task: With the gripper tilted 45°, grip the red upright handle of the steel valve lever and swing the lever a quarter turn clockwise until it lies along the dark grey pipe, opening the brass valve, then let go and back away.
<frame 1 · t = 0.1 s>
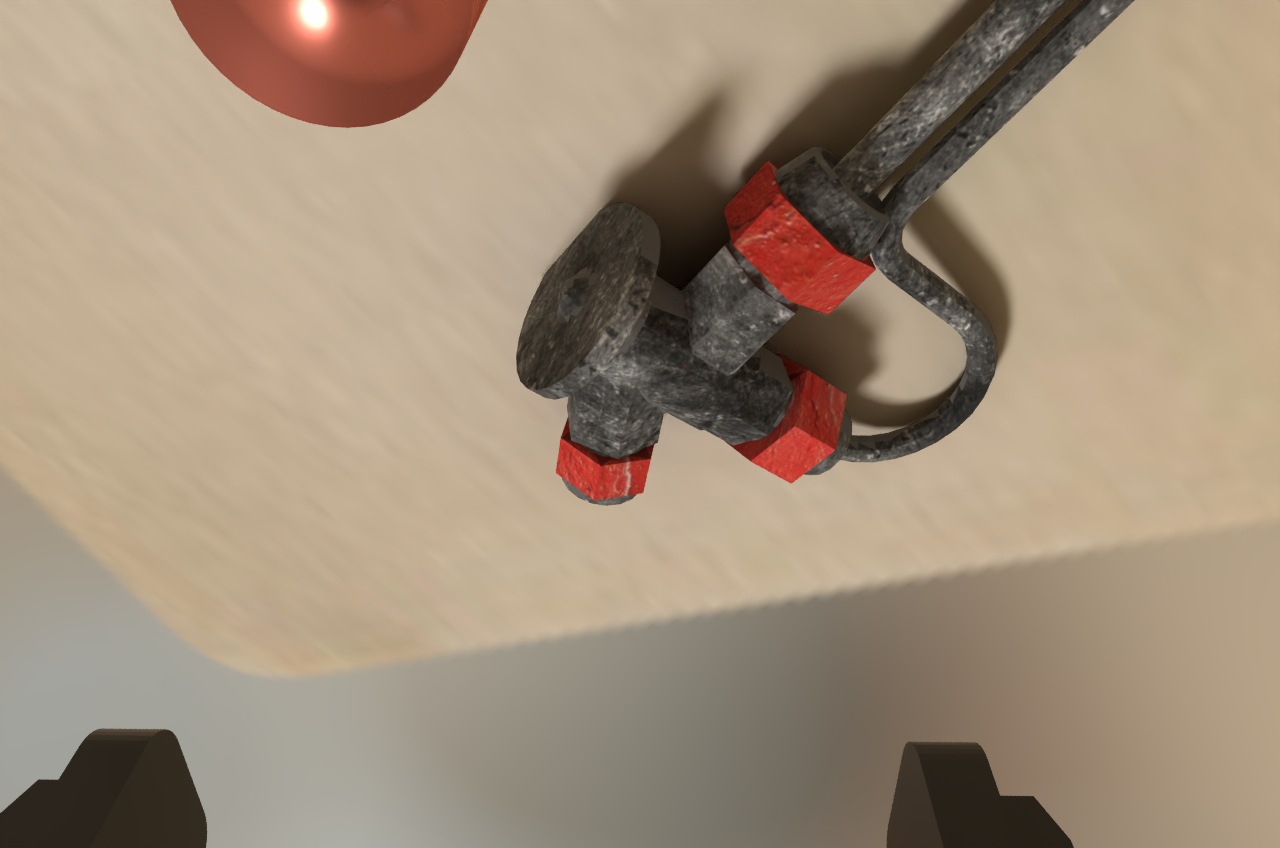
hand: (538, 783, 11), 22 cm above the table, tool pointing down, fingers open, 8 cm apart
valve: (872, 229, 32), on the table
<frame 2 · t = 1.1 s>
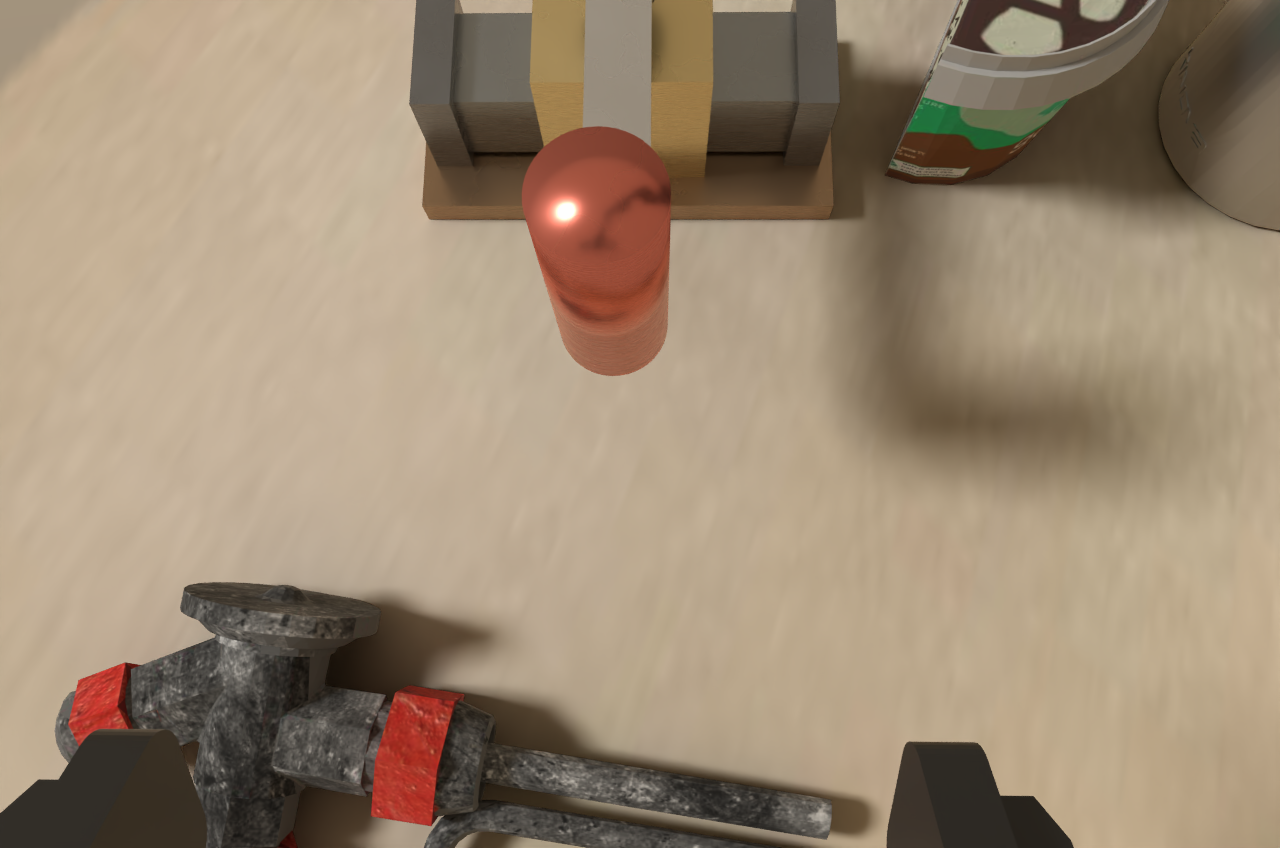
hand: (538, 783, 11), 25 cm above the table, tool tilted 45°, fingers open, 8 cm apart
valve: (446, 831, 35), on the table
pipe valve: (629, 128, 40), on the table
lever: (611, 62, 26), point 14 cm above the table, hinge at 0.0°
food container: (993, 108, 41), on the table
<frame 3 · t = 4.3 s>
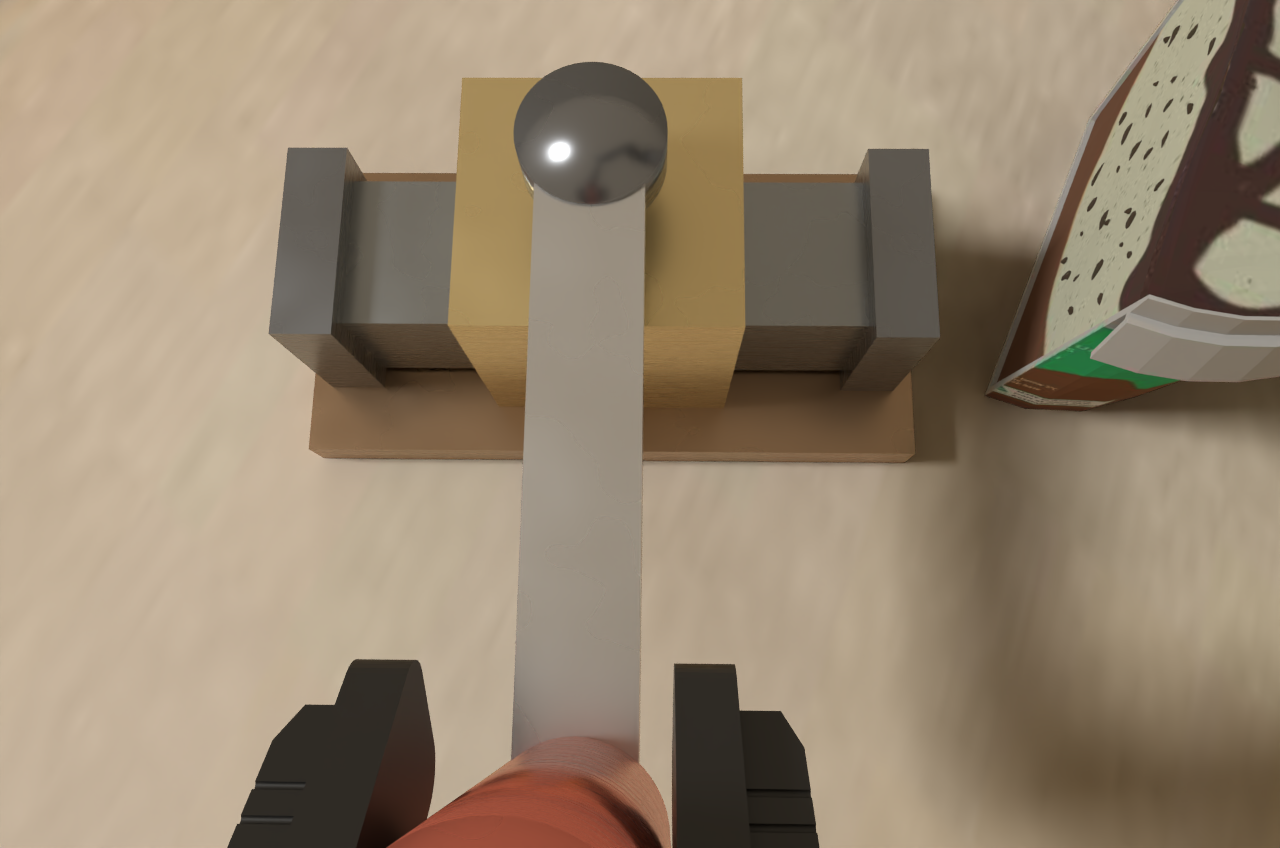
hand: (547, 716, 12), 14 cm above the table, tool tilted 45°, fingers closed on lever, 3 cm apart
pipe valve: (614, 322, 28), on the table
lever: (563, 408, 13), point 14 cm above the table, hinge at 0.0°, touching gripper
food container: (1138, 294, 28), on the table
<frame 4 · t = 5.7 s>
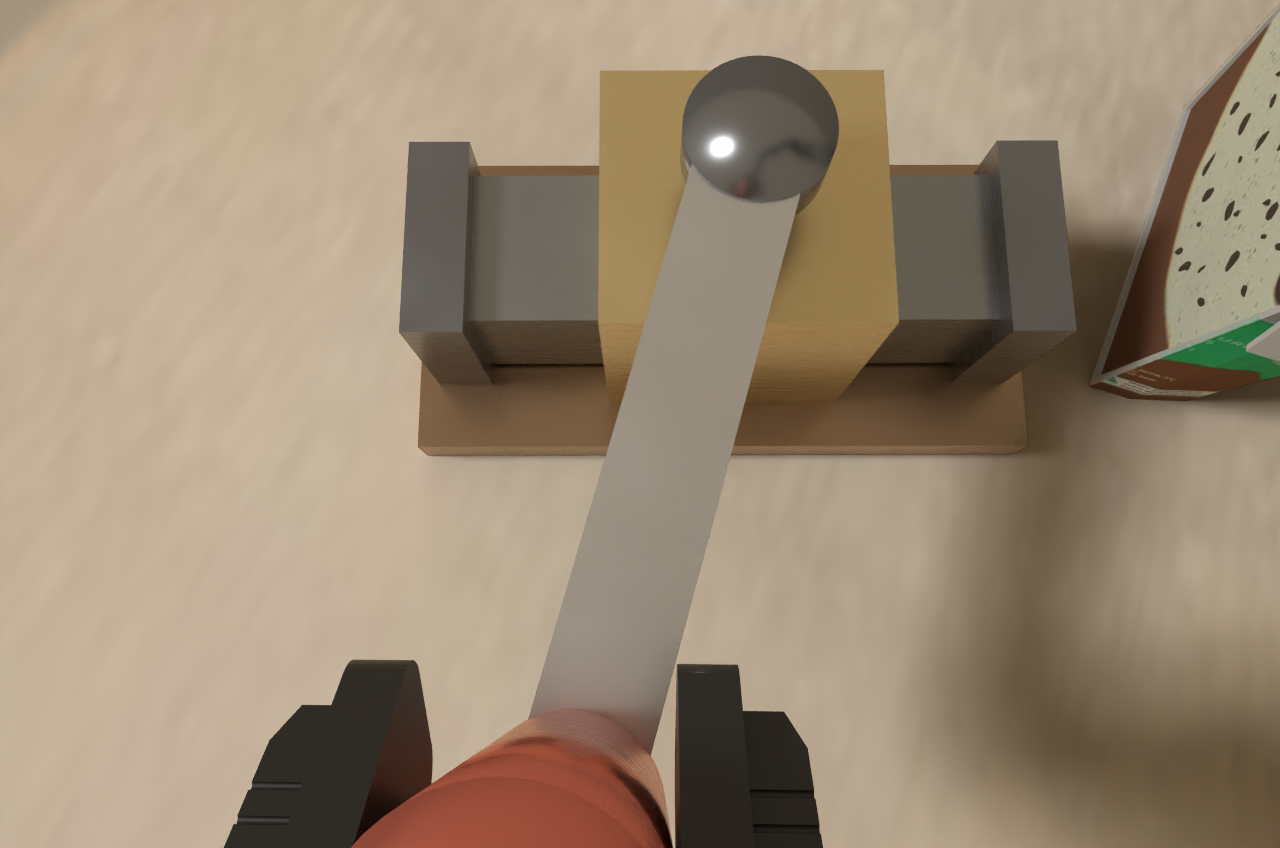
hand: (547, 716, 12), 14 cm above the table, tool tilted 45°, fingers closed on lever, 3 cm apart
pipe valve: (716, 315, 28), on the table
lever: (678, 396, 13), point 14 cm above the table, hinge at -15.9°, touching gripper
food container: (1237, 284, 28), on the table
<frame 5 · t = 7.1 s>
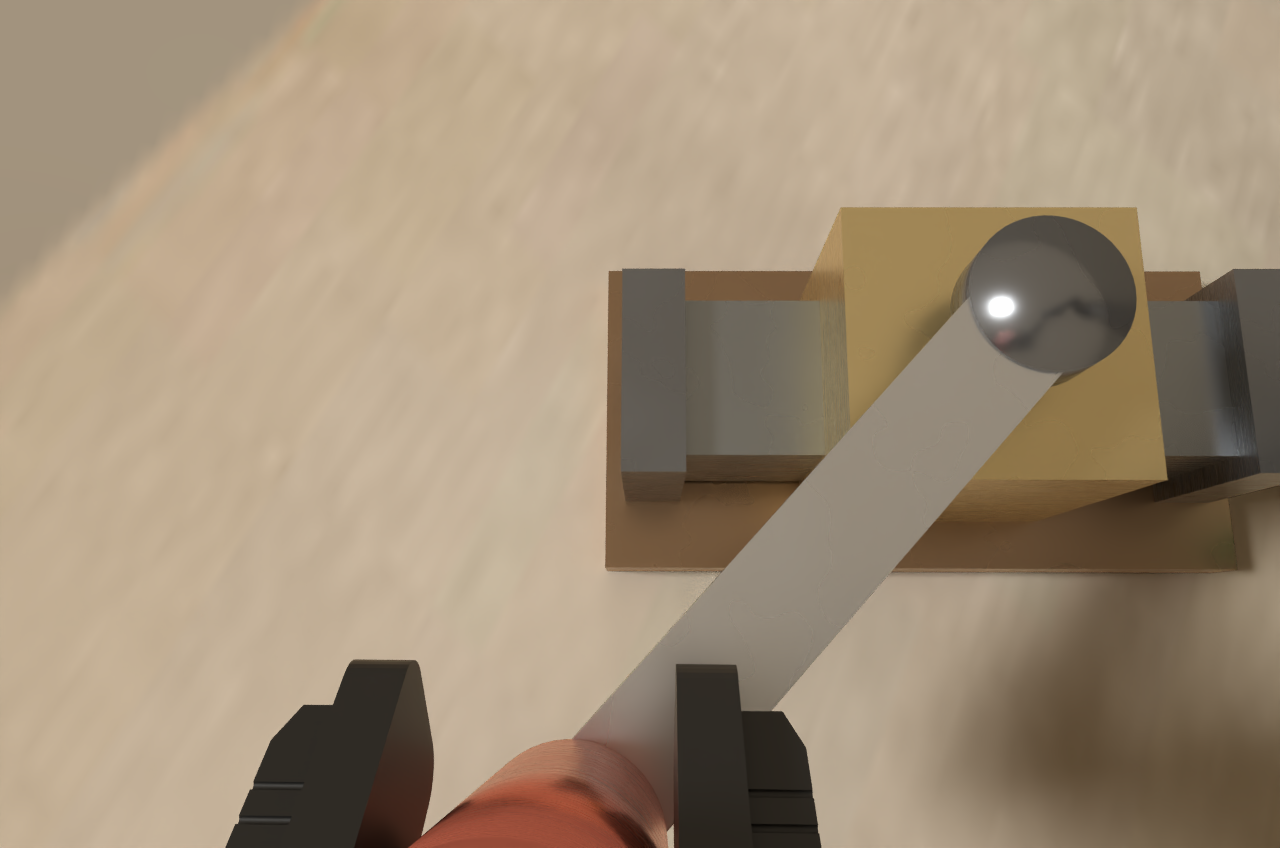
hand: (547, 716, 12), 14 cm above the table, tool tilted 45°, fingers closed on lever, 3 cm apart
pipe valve: (900, 424, 27), on the table
lever: (868, 530, 13), point 14 cm above the table, hinge at -42.5°, touching gripper
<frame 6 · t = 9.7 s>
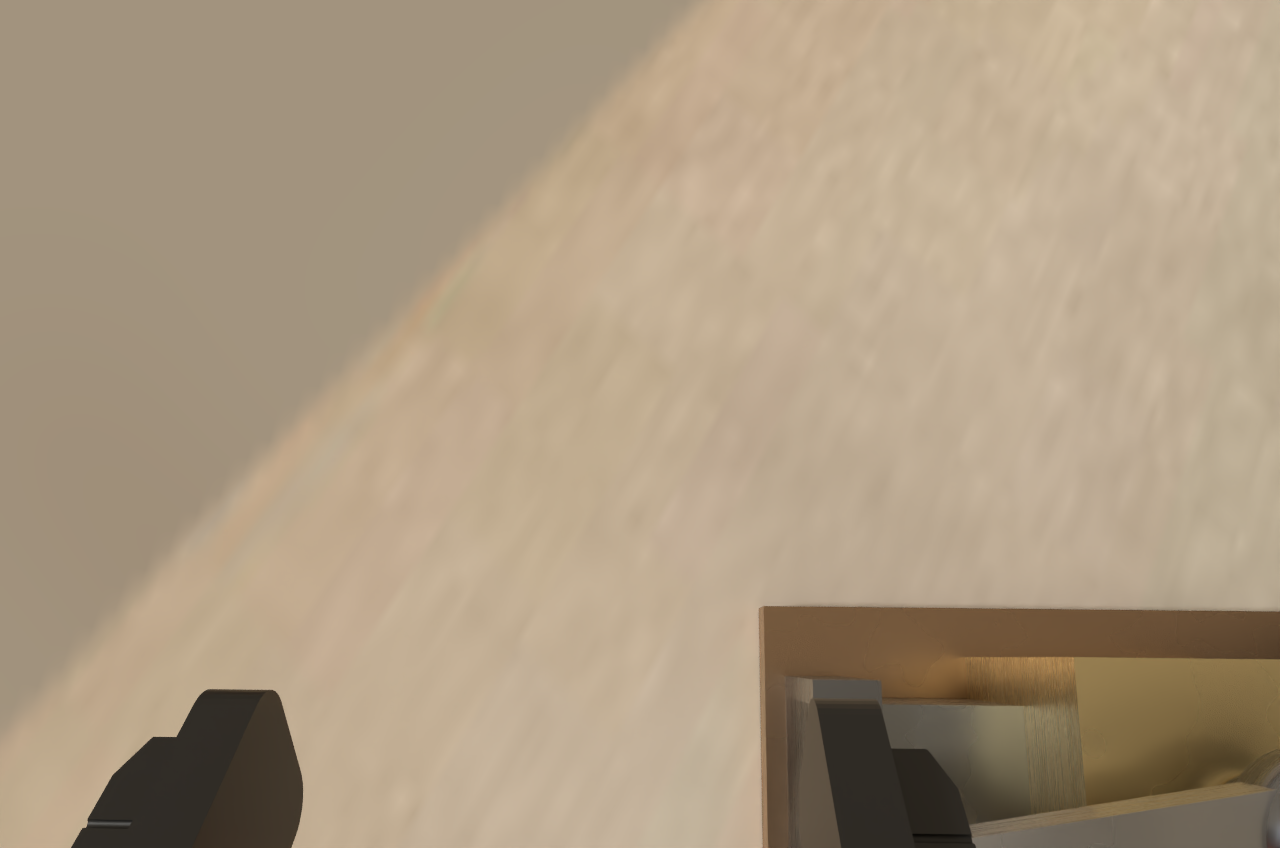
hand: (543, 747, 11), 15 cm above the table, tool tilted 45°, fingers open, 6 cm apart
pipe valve: (1076, 771, 25), on the table
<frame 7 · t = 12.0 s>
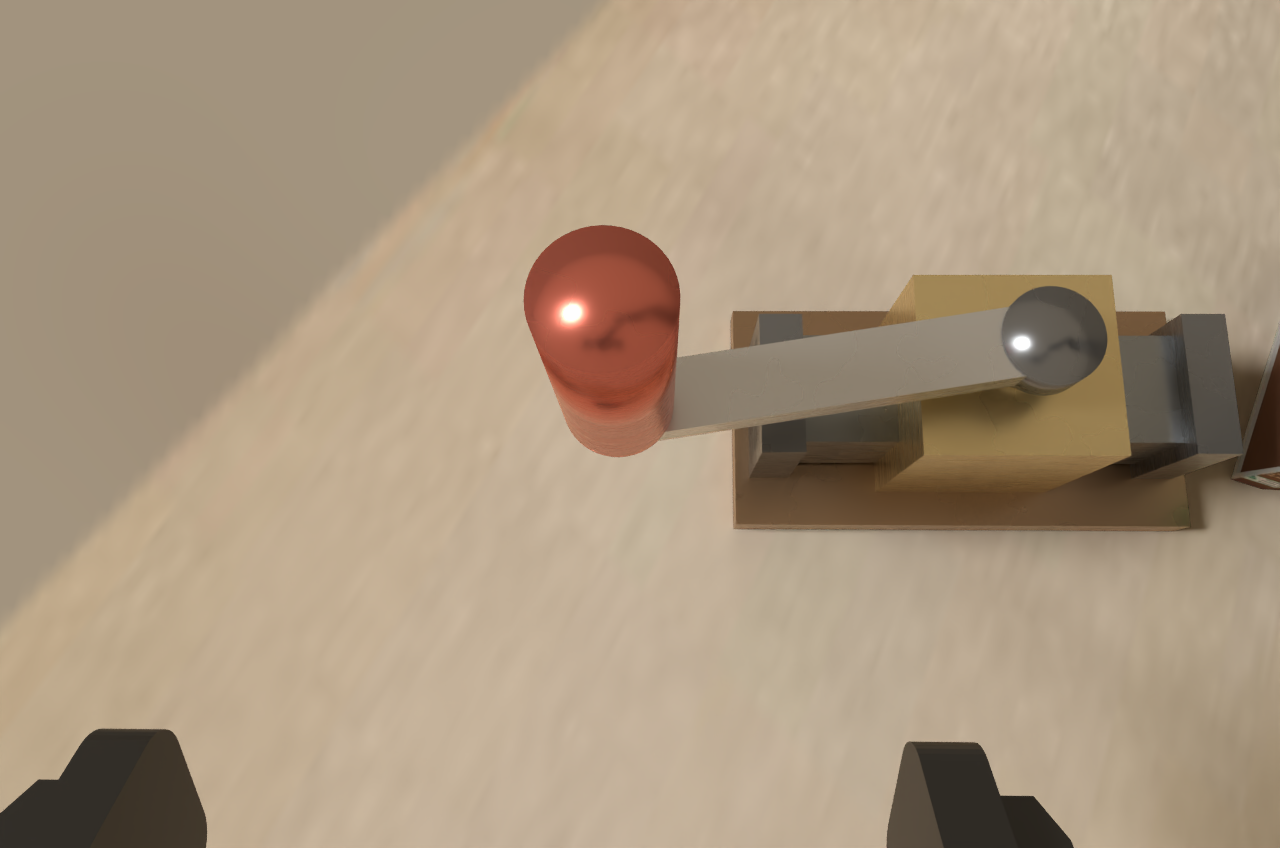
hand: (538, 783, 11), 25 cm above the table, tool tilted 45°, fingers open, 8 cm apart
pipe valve: (945, 423, 37), on the table
lever: (860, 328, 23), point 14 cm above the table, hinge at -80.8°
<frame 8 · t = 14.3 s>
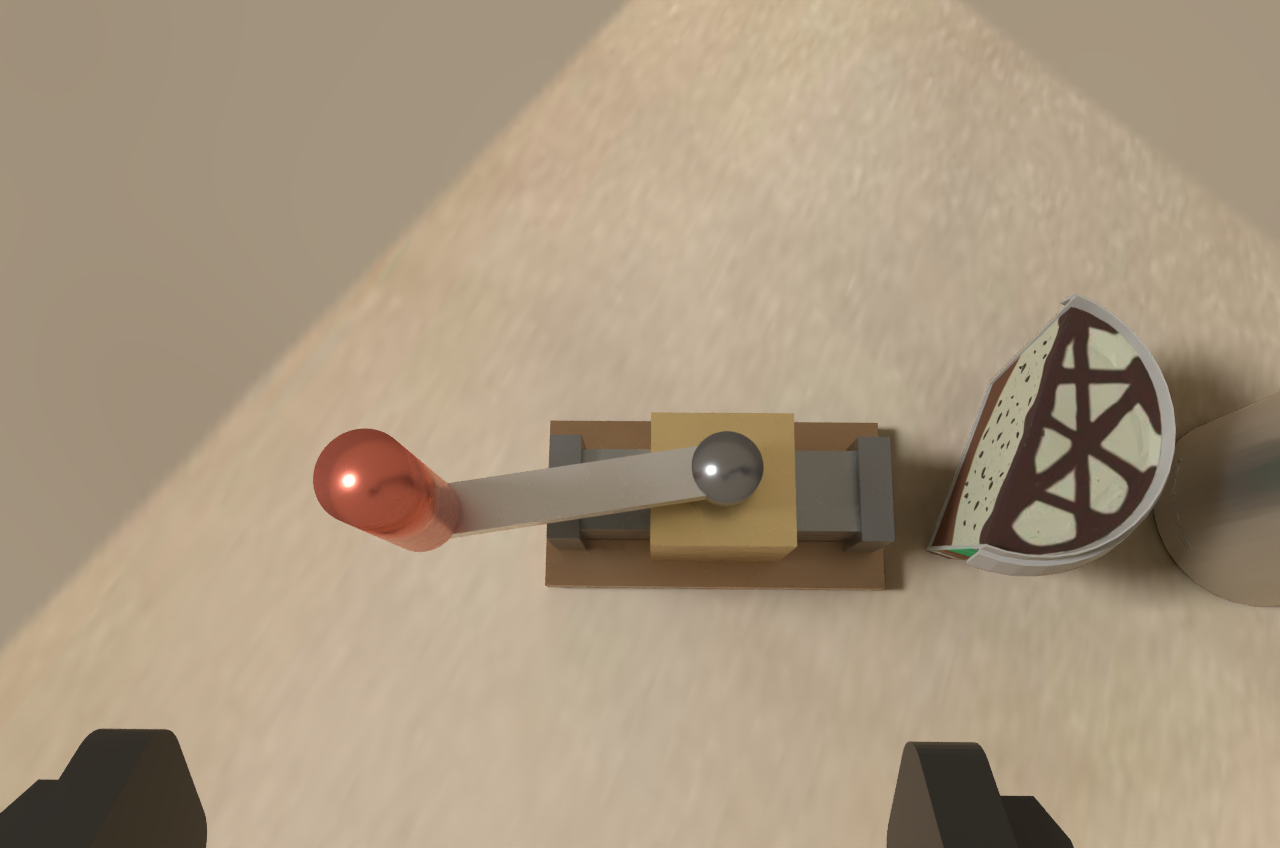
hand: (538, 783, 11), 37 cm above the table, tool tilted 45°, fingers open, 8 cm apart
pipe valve: (712, 506, 49), on the table
lever: (565, 473, 35), point 14 cm above the table, hinge at -80.8°
food container: (1016, 489, 49), on the table
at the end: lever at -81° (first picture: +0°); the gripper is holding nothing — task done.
